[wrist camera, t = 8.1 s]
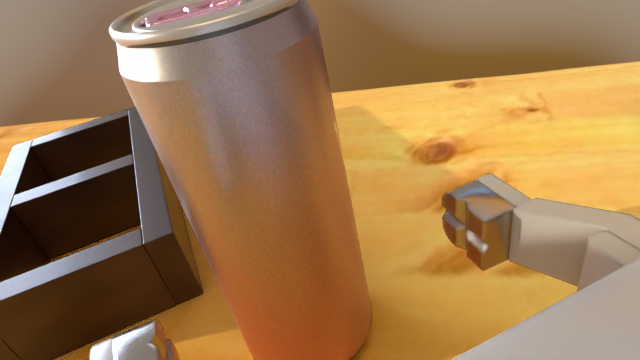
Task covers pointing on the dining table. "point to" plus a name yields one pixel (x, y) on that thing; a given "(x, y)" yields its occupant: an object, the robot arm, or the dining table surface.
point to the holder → (88, 238)
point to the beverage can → (254, 164)
